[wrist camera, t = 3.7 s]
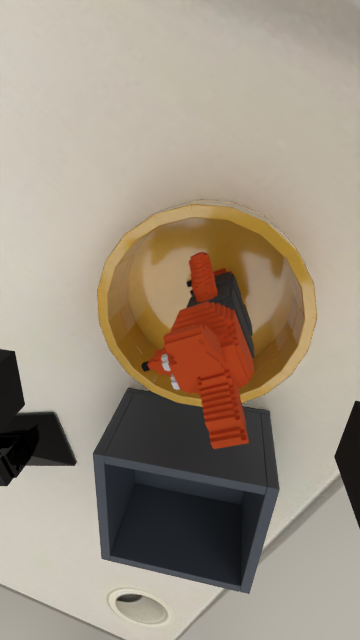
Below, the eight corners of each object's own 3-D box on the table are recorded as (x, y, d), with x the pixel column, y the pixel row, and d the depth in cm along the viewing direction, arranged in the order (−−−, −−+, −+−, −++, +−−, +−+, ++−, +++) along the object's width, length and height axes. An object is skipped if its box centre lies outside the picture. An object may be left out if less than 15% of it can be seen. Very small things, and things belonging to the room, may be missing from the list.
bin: (269, 410, 27) (280, 489, 20) (247, 506, 32) (249, 594, 25) (127, 387, 28) (92, 453, 21) (129, 482, 34) (101, 559, 27)
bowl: (323, 208, 20) (345, 215, 16) (281, 382, 25) (289, 421, 21) (119, 192, 21) (90, 195, 17) (122, 359, 27) (102, 391, 23)
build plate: (55, 411, 31) (28, 447, 27) (78, 464, 34) (56, 504, 30) (-45, 415, 34) (-84, 449, 30) (-16, 464, 37) (-48, 501, 33)
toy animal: (151, 259, 22) (70, 335, 12) (223, 231, 21) (206, 289, 10) (192, 352, 25) (157, 483, 14) (259, 333, 23) (276, 466, 13)
